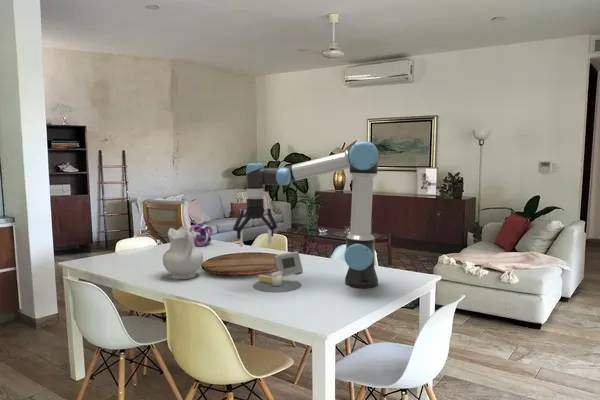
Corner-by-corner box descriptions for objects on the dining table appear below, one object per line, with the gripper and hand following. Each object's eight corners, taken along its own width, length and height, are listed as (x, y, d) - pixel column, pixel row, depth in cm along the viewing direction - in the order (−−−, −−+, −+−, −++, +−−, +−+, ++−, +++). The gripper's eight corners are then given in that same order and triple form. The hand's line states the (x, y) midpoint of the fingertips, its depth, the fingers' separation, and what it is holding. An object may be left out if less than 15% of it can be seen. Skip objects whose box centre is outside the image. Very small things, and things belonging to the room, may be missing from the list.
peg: (284, 284, 208) (284, 272, 208) (276, 286, 204) (276, 274, 204) (263, 279, 217) (263, 267, 216) (255, 281, 213) (255, 269, 212)
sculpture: (184, 248, 311) (189, 242, 293) (188, 224, 316) (193, 217, 299) (207, 251, 316) (213, 245, 298) (210, 227, 322) (216, 221, 304)
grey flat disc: (311, 286, 209) (311, 284, 209) (278, 297, 192) (278, 295, 192) (276, 278, 223) (276, 276, 223) (242, 287, 207) (242, 285, 207)
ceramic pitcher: (213, 279, 225) (215, 228, 225) (178, 284, 211) (180, 230, 210) (188, 272, 240) (190, 224, 239) (154, 276, 226) (156, 225, 225)
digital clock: (279, 278, 222) (278, 257, 221) (269, 275, 230) (269, 253, 229) (306, 274, 231) (306, 253, 230) (297, 270, 239) (297, 250, 238)
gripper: (278, 196, 214) (278, 241, 216) (225, 198, 204) (226, 245, 206) (284, 197, 207) (284, 244, 209) (230, 199, 197) (230, 248, 199)
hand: (255, 245), depth 208 cm, fingers open, 13 cm apart
